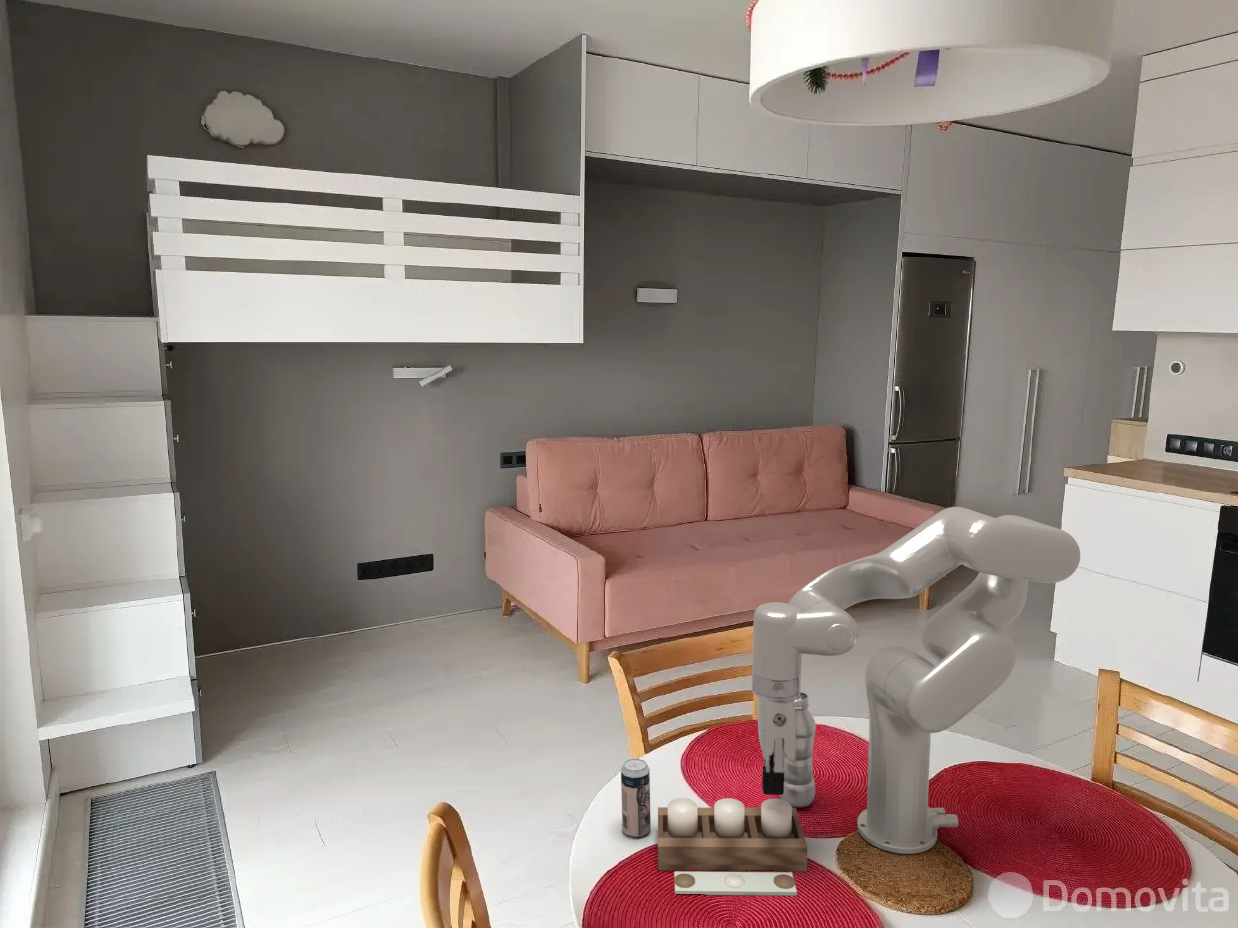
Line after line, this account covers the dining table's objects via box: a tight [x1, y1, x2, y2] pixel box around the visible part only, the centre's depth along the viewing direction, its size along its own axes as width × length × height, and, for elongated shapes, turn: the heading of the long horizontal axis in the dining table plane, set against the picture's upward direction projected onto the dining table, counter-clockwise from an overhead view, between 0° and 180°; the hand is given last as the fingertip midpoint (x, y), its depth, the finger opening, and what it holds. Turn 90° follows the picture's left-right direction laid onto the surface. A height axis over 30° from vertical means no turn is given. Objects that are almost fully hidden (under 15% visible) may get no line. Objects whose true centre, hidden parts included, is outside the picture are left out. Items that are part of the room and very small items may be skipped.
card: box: [673, 870, 798, 897], centre depth 129 cm, size 18×5×1 cm, turn 87°
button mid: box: [713, 797, 745, 838], centre depth 137 cm, size 5×5×4 cm
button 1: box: [667, 797, 698, 838], centre depth 138 cm, size 5×5×4 cm
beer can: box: [620, 758, 652, 838], centre depth 143 cm, size 5×5×12 cm
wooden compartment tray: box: [657, 806, 808, 872], centre depth 138 cm, size 23×11×4 cm, turn 87°
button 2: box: [760, 798, 793, 839], centre depth 137 cm, size 5×5×4 cm
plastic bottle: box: [778, 691, 817, 809], centre depth 150 cm, size 6×7×20 cm
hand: (772, 791), depth 136 cm, fingers closed
